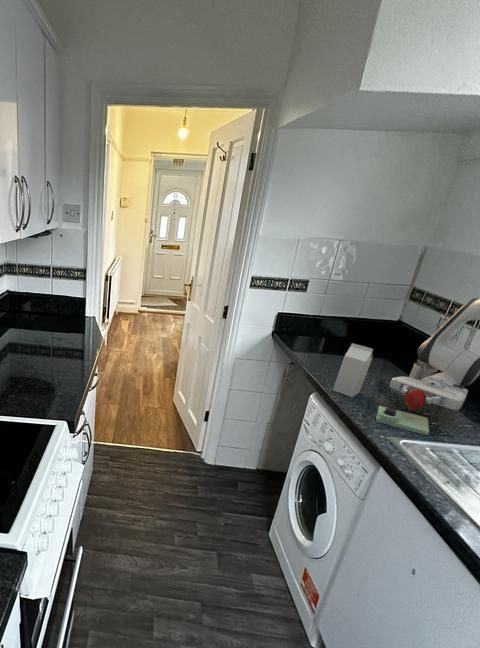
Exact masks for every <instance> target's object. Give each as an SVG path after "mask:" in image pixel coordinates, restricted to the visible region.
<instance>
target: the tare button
mask: <svg viewBox="0 0 480 648" xmlns="http://www.w3.org/2000/svg"><path fill="white" fill-rule="evenodd" d="M396 410H397V409H394V408H391V407H386V409H385V412H384V414H386V415H389V416H395V414H396Z"/></svg>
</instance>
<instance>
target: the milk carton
mask: <svg viewBox="0 0 480 648" xmlns="http://www.w3.org/2000/svg"><path fill="white" fill-rule="evenodd" d="M373 351H374V348H371V347H367V346H364V345H360V344H357V343H351V344H350V347H349V348H348V350H347V352H346V353H345V355H344V357H343V360H342V362H341V365H340V368H339V371H338V374H337V376H336V380H335V383H334V385H333V389H332V391H334V392H336V393H339V394H342V395H345V396H347V397H348V396H349V397H351V398H354V397H355V396H356V395H358V394H359V393H360V392H361V390H362V386H363V384H364V381H365V379H366V376H367V373H368V371H369V369H370V365H371V363H372V361H373V356H374V355H373Z"/></svg>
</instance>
